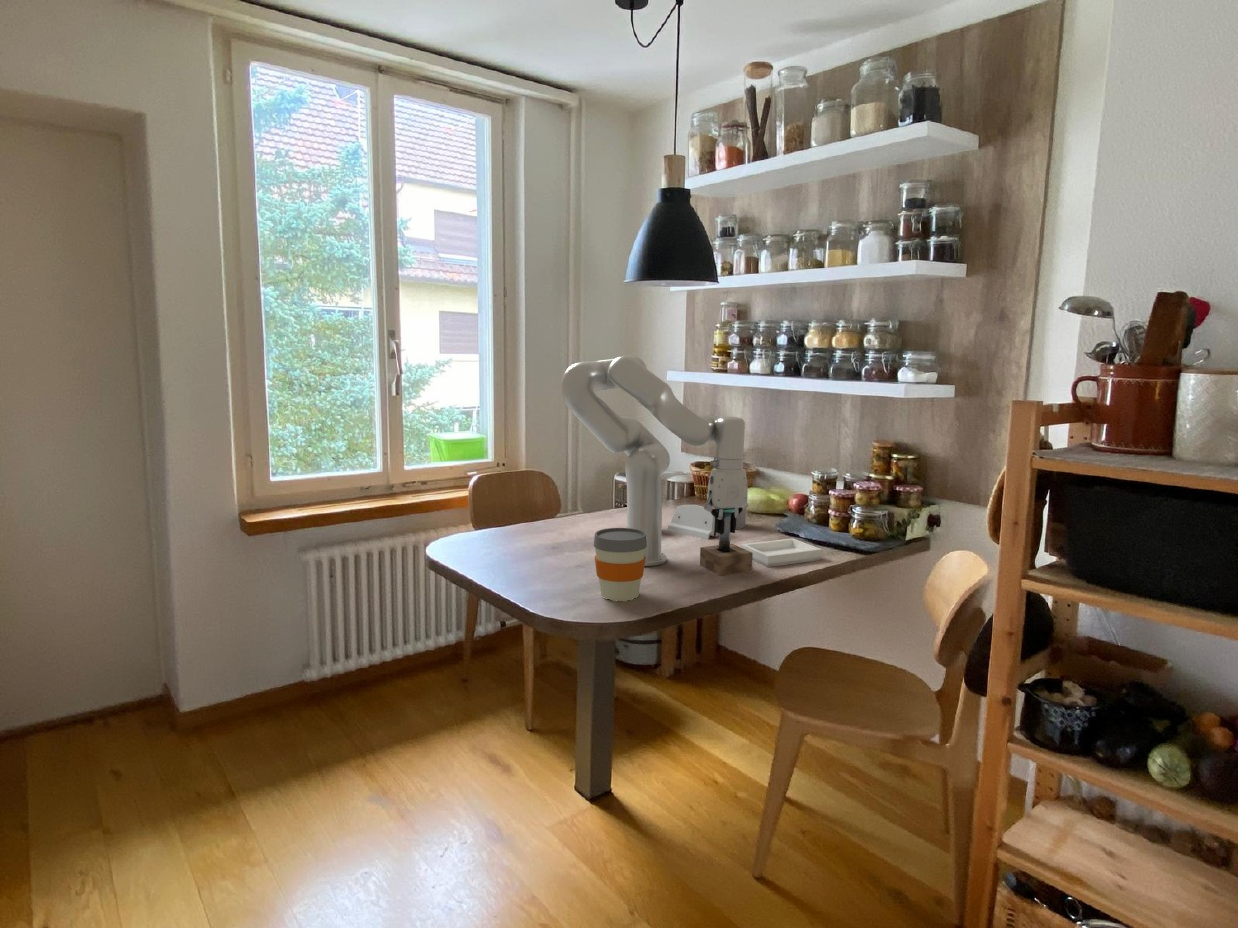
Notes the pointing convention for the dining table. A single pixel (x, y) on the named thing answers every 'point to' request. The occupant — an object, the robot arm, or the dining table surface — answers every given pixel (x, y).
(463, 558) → the dining table surface
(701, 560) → the socket block
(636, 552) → the reusable coffee cup
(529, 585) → the dining table surface
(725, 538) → the steel pin
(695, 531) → the hinge
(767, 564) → the tray
